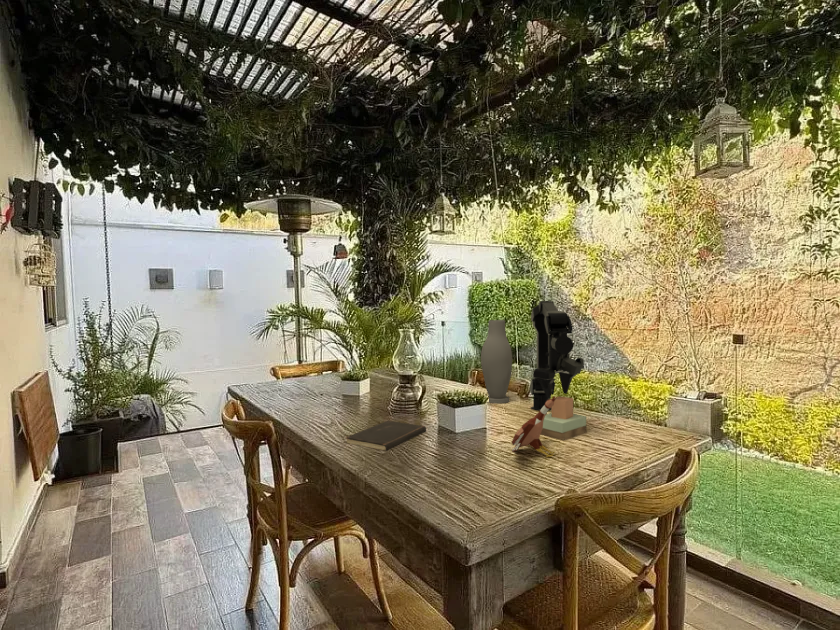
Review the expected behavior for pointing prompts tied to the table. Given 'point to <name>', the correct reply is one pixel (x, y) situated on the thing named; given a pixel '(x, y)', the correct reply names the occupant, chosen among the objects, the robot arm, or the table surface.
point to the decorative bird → (533, 431)
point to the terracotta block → (562, 407)
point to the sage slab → (563, 423)
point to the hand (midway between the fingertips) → (557, 395)
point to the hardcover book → (386, 435)
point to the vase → (496, 362)
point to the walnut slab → (563, 435)
